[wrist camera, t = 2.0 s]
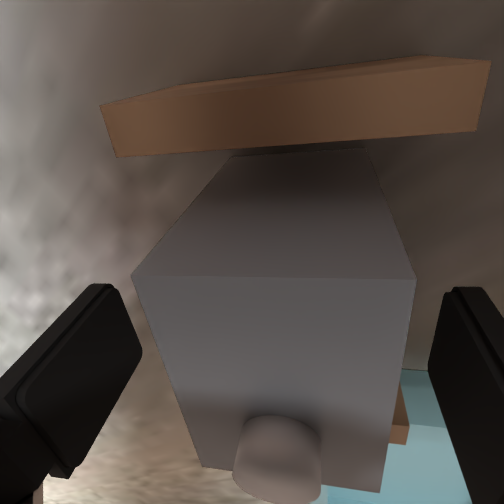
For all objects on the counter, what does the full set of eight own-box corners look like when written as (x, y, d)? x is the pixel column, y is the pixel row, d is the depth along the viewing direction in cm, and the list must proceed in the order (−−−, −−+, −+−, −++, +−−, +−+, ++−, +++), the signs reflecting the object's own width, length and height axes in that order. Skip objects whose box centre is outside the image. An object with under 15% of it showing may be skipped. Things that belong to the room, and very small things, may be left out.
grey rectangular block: (364, 147, 12) (435, 324, 4) (356, 299, 15) (385, 541, 8) (231, 156, 13) (100, 310, 5) (252, 296, 16) (190, 505, 9)
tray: (562, 380, 15) (607, 445, 13) (487, 512, 23) (507, 571, 20) (305, 362, 18) (302, 412, 16) (311, 485, 25) (309, 533, 23)
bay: (422, 55, 10) (491, 60, 6) (385, 343, 16) (405, 445, 12) (179, 84, 12) (99, 105, 8) (230, 334, 18) (202, 420, 14)
